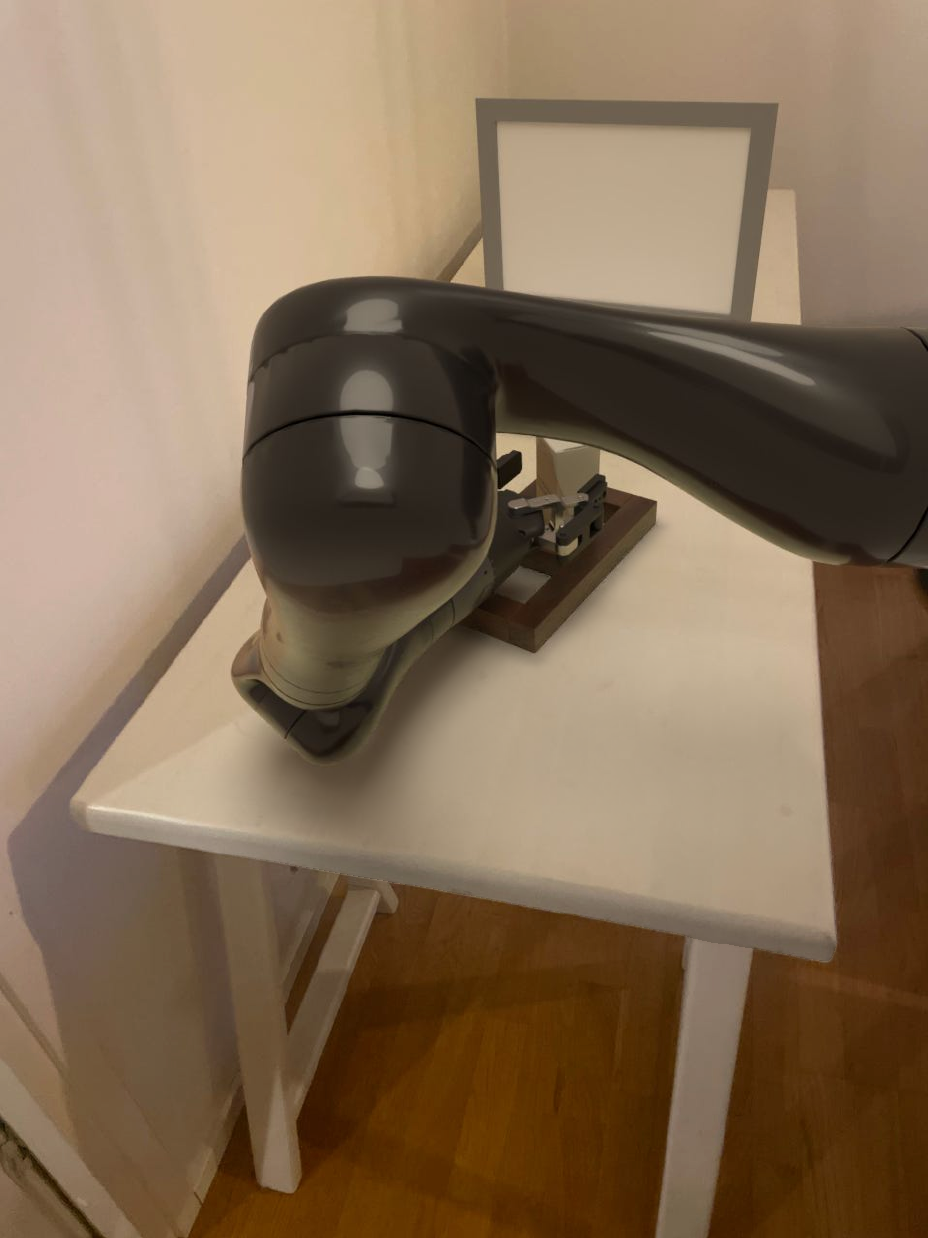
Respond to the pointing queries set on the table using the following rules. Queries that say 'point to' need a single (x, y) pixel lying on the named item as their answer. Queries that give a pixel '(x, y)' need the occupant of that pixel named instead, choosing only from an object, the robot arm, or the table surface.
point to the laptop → (626, 201)
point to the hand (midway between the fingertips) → (559, 471)
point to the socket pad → (565, 575)
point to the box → (563, 469)
